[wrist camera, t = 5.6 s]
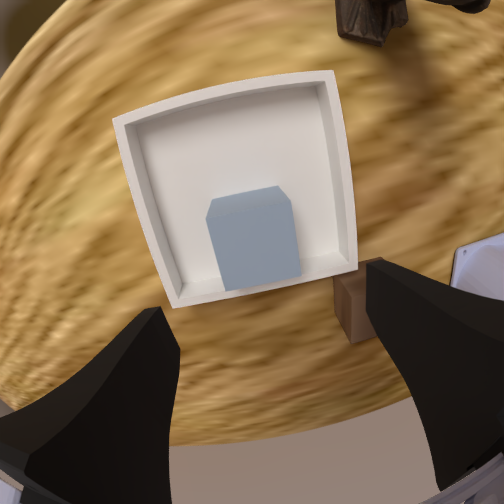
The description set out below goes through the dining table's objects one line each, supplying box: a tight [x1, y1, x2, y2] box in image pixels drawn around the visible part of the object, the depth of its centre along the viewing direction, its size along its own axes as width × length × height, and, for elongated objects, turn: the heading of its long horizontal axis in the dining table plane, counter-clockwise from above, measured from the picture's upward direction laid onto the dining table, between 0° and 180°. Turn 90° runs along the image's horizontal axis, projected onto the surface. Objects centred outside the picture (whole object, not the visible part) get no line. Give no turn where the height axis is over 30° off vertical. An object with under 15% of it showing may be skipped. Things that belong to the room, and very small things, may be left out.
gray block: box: [206, 186, 302, 292], centre depth 15 cm, size 4×4×4 cm
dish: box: [112, 70, 358, 308], centre depth 16 cm, size 12×12×2 cm
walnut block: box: [333, 257, 384, 344], centre depth 19 cm, size 4×4×4 cm
